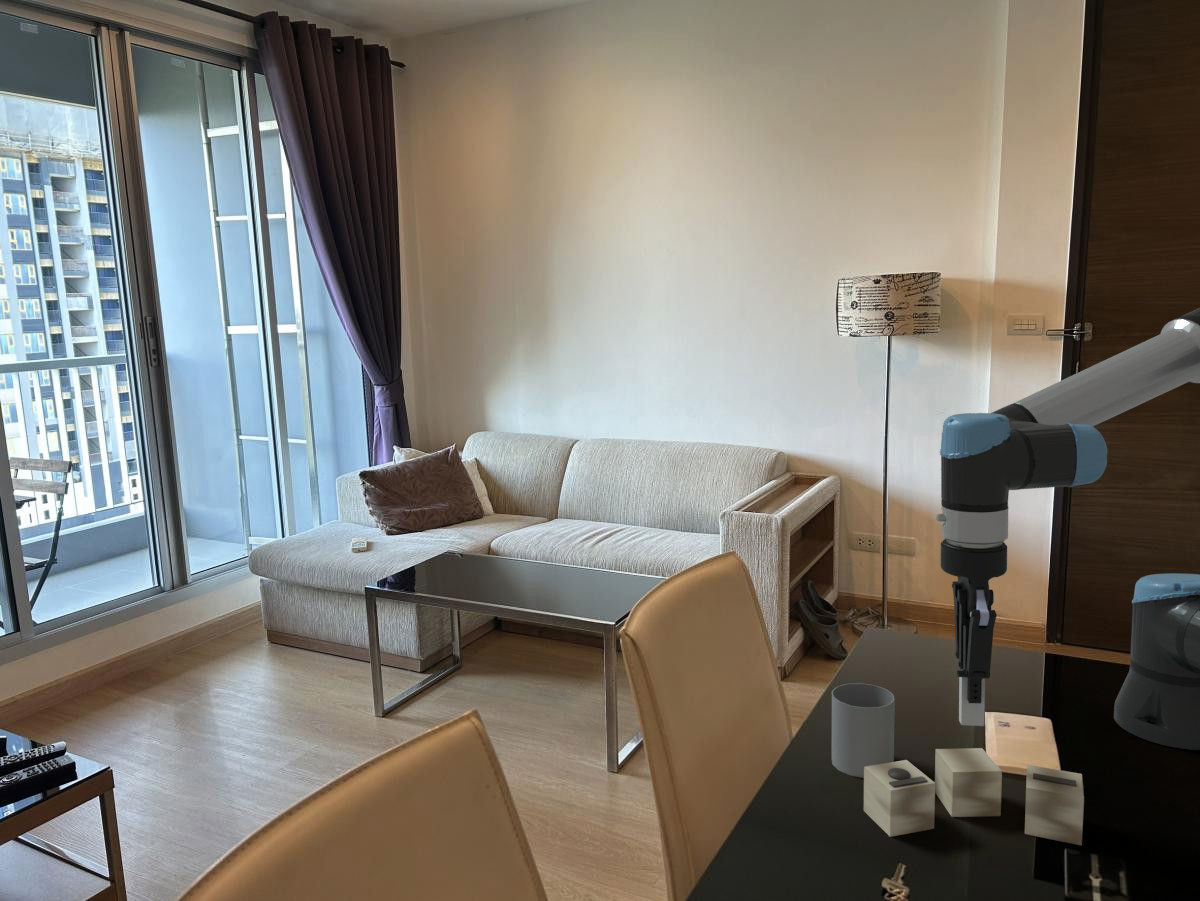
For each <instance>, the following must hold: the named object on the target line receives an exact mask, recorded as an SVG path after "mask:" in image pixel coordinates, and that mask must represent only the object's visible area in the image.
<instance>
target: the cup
mask: <svg viewBox="0 0 1200 901" xmlns="http://www.w3.org/2000/svg"><path fill="white" fill-rule="evenodd" d="M895 704H896V699H895V695H894V694H893V693H892V692H891V691H890V690H888V689H887V688H884V687H881V686H878V685H876V684H871V683H870V684H868V683H861V682H857V683H854V682H853V683H845V684H844V683H843V684H841V685H838V686H836V687H834V688H833V690H831V764H832V766H834V767H835V769H837V770H838V771H839V772H842V773H843V774H846V775H848V776H851V777H856V778H857V777H858V778H862V779H864V767H866V766H872V765H878V764H884V763H890V762H895V719H896V718H895V715H896V714H895V712H896V711H895V710H896V707H895Z"/></svg>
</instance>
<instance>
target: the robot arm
mask: <svg viewBox="0 0 1200 901" xmlns="http://www.w3.org/2000/svg"><path fill="white" fill-rule="evenodd" d="M1187 383H1194V384H1200V307H1199V308H1196V309H1194V310H1192V311H1190V312H1187V313H1186V314H1183V315H1181V316H1179V317H1177V318H1174V319H1173V320H1171V321H1169V322H1167V323H1166V324H1165V325H1164V326H1163V327H1162V329H1161V331H1160V334H1158V335H1156V336H1154V337H1151V338H1149V339H1147V340H1146V341H1142V342H1141V343H1138V344H1136V345H1134V346H1132V347H1130V348H1128V349H1126V350H1124V351H1122V352H1120V353H1118V354H1115V355H1113V356H1111V357H1108V358H1107V359H1105V360H1101V361H1100V362H1097V363H1096V364H1093V365H1092V366H1090V367H1087V368H1086V369H1083V370H1081V371H1080V372H1077V373H1074V374H1072V375H1070V376H1068V377H1066V378H1064V379H1062V380H1060V381H1058V382H1056V383H1053V384H1052V385H1048V386H1047V387H1045V388H1042V389H1040V390H1039V391H1036V392H1034V393H1032V394H1030V395H1027V396H1025V397H1023V398H1022V399H1018V400H1016V402H1013V403H1011V404H1008V405H1006V406H1002V407H1001V408H999V409H997V410H995V411H993V412H990V413H989V412H976V413H975V412H972V413H971V412H968V413H966V412H965V413H958V414H952V415H950V416H948V417H947V418H946V419H945V420H943V425H942V431H941V440H940V449H939V450H940V451H939V455H940V471H941V472H940V473H941V474H940V475H941V477H940V479H941V481H940V483H941V484H940V486H941V488H940V489H941V492H940V496H941V497H940V498H941V499H940V500H941V509H940V510H941V511H942V513H937V514H936V515H935V517H936V521H937V522H941V523H940V528H941V529H940V530H941V532H940V535H941V537H943V540H942V541H941V543H940V568H941V570H942V571H943V572H945V573H946V574H948V575H951V576H953V577H957V581H952V584H951V588H952V594H953V608H954V609H953V610H954V614H953V615H954V632H955V634H954V637H955V638H954V639H955V640H954V641H955V653H954V654H955V658H956V659H957V660H958V663H957V665H958V668H959V670H956V675H957V678H958V679H959V680H958V681H959V682H958V683H959V684H958V685H959V688H958V691H959V692H958V695H959V696H958V702H959V703H958V721H959V724H960V726H972V727H973V726H974V727H976V726H978V727H985V709H986V708H985V706H986V705H985V699H986V698H985V697H986V694H985V693H986V680H987V679H988V680H989V679H990V676H991V666H992V665H991V664H992V662H991V661H992V652H993V651H992V650H993V638H994V630H995V629H994V628H995V624H996V621H997V620H996V619H997V612H996V609H992V606H993V604H994V601H995V599H994V598H995V597H994V590H993V589H990V584H989V581H990V580H992V579H994V578H1000V577H1002V576H1003V575H1005V574H1006V572H1007V570H1008V546H1007V544H1006V543H1005V541H1006V540H1008V539H1009V493H1010V491H1018V490H1031V489H1047V488H1060V487H1061V488H1062V487H1063V488H1064V487H1067V488H1073V487H1075V486H1082V485H1086V484H1087V485H1088V484H1092V483H1094V482H1096V481H1097V480H1099V479H1100V478H1101V477H1102V475H1104V472H1105V471H1106V469H1107V465H1108V447H1107V443H1106V441H1105V438H1104V437H1103V435H1102V433H1101V432H1100V431H1099V430H1098V429H1097V428H1095V427H1094V426H1097V425H1099V424H1101V423H1104V422H1105V421H1108V420H1110V419H1111V418H1114V417H1116V416H1118V415H1120V414H1122V413H1125V412H1126V411H1130V410H1131V409H1134V408H1136V407H1138V406H1140V405H1141V404H1142V405H1143V404H1144V403H1146V402H1149V401H1150V400H1153V399H1154V398H1157V397H1158V396H1161V395H1164V394H1165V393H1167V392H1169V391H1170V392H1171V391H1173V390H1174V389H1176V388H1178V387H1181V386H1182V385H1185V384H1187ZM1131 604H1132V607H1131V608H1132V609H1131V611H1132V612H1131V633H1130V636H1131V637H1130V639H1131V640H1130V659H1129V660H1130V663H1129V664H1130V665H1129V671H1128V673H1127V676H1126V677H1125V679H1124V682H1123V683H1122V686H1121V688H1120V690H1119V691H1118V695H1116V696H1117V697H1116V699H1115V702H1114V708H1113V710H1114V711H1113V719H1114V721H1115V722H1116V724H1117V725H1118V726H1119V727H1121V728H1122V729H1123V730H1125V731H1126V732H1128V733H1130V734H1131V735H1134V736H1135V737H1138V738H1140V739H1143V740H1146V741H1148V742H1151V743H1155V744H1158V745H1162V746H1166V747H1171V748H1174V749H1175V748H1177V749H1182V750H1190V751H1191V750H1192V751H1200V574H1197V573H1172V572H1171V573H1154V574H1149V575H1144V576H1142V577H1140V578H1138V580H1137V581H1136V583H1135V585H1134V594H1133V599H1132V600H1131Z"/></svg>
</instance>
